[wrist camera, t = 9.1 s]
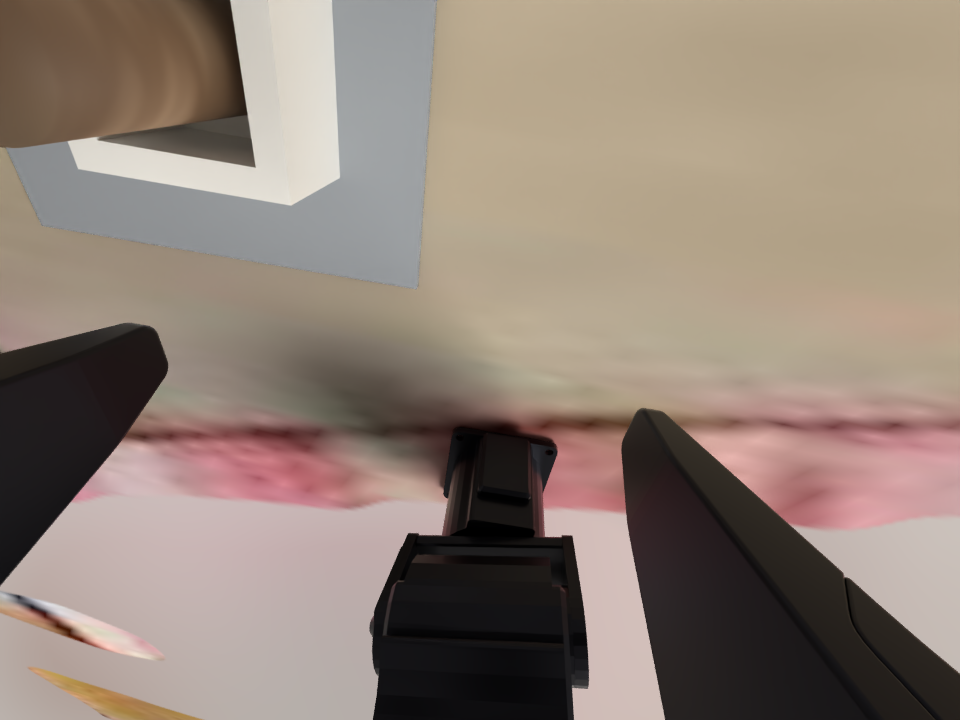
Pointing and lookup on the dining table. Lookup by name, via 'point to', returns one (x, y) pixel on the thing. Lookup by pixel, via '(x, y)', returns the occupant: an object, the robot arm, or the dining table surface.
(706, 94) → the dining table surface
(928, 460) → the dining table surface
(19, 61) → the dowel
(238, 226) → the mat
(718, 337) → the dining table surface
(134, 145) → the white square frame
